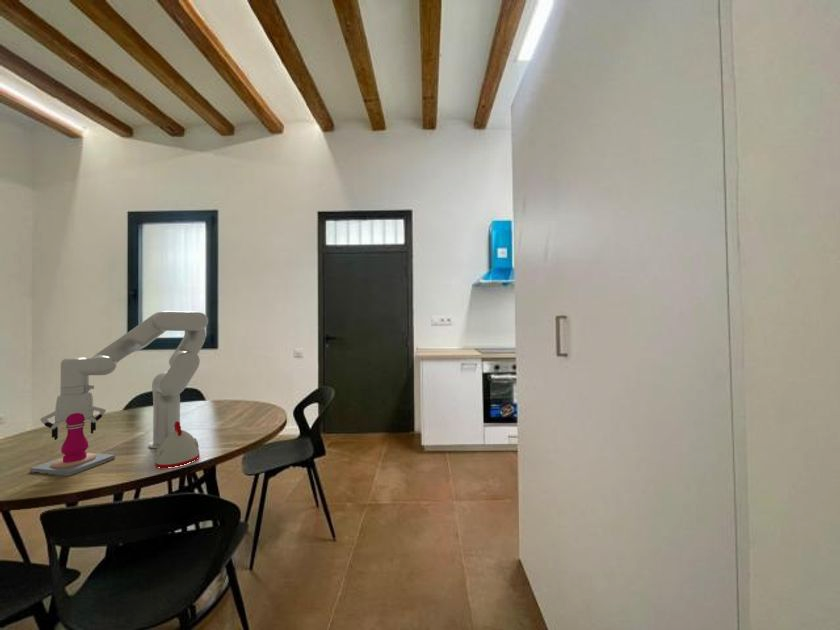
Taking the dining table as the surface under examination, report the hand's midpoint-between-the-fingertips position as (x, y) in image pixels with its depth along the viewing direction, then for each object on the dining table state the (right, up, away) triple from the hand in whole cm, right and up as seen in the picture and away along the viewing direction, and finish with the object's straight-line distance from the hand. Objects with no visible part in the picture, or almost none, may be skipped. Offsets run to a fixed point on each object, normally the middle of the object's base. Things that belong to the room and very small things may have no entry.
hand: (74, 435), depth 127 cm
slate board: (0, -11, 0) cm, 11 cm away
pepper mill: (0, -9, 0) cm, 9 cm away
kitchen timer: (+37, -11, +3) cm, 39 cm away
